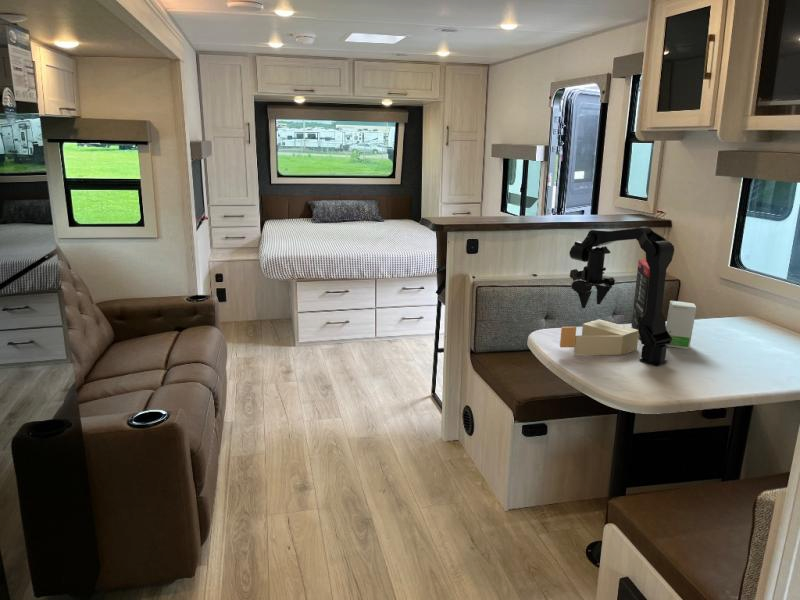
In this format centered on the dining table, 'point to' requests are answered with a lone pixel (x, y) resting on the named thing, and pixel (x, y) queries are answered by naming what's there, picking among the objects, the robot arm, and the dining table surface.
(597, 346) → the carton flap
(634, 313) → the graphics card box
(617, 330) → the carton
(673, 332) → the skincare box
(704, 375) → the dining table surface
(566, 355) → the dining table surface
